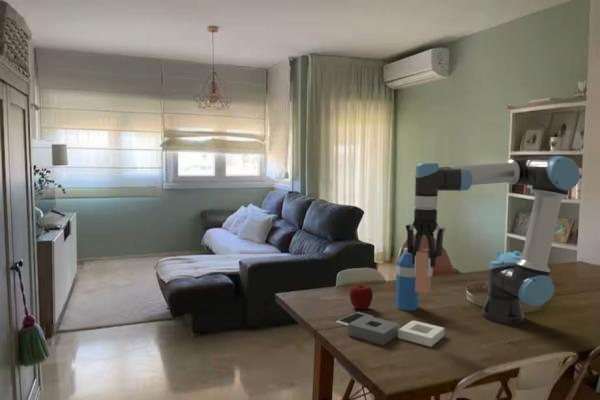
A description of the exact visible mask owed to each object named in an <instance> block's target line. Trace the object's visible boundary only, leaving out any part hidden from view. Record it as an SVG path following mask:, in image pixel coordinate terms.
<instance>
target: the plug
mask: <svg viewBox="0 0 600 400" xmlns="http://www.w3.org/2000/svg"><path fill="white" fill-rule="evenodd" d="M429 257H430V252H429V248H428V249H427V248H419V250H418V251H417V252H416V278H415V291H416V292H419V293H422V294H428V293H430V292H431V290H432V289H431V288H432V287H431V286H432V276H430V277H427V273H428V258H429Z"/></svg>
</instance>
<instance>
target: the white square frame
mask: <svg viewBox="0 0 600 400" xmlns="http://www.w3.org/2000/svg"><path fill="white" fill-rule="evenodd" d="M444 337H445V327H442V326H438V325H433V324H430V323H426V322H421V321H417V320H411V321H409V322H408V323H406V324H404V325H403V326H402V327H401V326H400V327H399V329H398V336H397V338H398V339H400V340H405V341H408V342H412V343H416V344H419V345H422V346H427V347H431V348H432V347H433V346H434V345H435V344H436V343H437V342H439V341H441V339H443V338H444Z"/></svg>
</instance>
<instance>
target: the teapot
mask: <svg viewBox="0 0 600 400" xmlns="http://www.w3.org/2000/svg"><path fill="white" fill-rule="evenodd" d="M493 252H494V253H495V254H496V256H497V260H517V261H519V260H521V258H522V254H523V253H521V251H518V250H515V251H508V252H505V253H501V252H500V251H498V250H493Z"/></svg>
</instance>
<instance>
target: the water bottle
mask: <svg viewBox="0 0 600 400" xmlns="http://www.w3.org/2000/svg"><path fill="white" fill-rule="evenodd" d="M412 260H413V255H412V254H411V253H408V252H407V247H403V252H402V254H401V255H400V256H399V258H398V259H397V260H396V278H395V279H396V280H395V282H396V283H395V299H394V301H395V305H394V306H395V307H396V308H397V309H399V310H403V311H416V310H418V309H419V294H420V292H416V291H415V278H416V275H415V274H414V271H415V264H413V263H412Z"/></svg>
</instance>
